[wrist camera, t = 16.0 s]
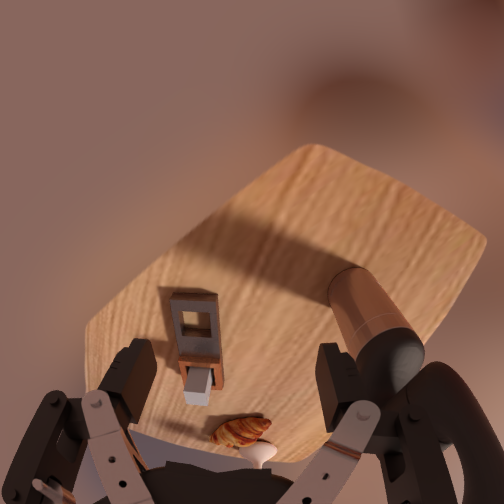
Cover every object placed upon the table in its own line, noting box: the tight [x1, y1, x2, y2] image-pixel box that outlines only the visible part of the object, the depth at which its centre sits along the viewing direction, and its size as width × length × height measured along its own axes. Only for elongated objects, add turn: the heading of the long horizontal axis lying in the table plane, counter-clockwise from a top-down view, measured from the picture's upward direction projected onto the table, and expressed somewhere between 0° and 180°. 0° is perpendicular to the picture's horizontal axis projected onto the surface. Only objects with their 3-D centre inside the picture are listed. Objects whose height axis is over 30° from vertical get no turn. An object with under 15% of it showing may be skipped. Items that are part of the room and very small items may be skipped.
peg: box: [183, 366, 214, 406], centre depth 49 cm, size 4×4×10 cm
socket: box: [170, 292, 224, 390], centre depth 49 cm, size 22×8×4 cm, turn 0°
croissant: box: [209, 417, 272, 448], centre depth 60 cm, size 21×10×8 cm, turn 130°
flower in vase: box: [239, 442, 277, 469], centre depth 55 cm, size 13×11×25 cm
